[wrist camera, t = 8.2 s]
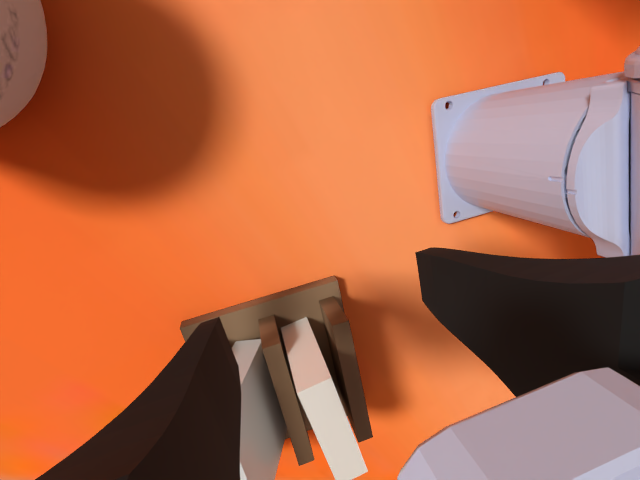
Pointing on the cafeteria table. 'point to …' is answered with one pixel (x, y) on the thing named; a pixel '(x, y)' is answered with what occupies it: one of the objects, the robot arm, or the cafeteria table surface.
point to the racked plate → (258, 414)
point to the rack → (265, 324)
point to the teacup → (20, 54)
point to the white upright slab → (322, 401)
